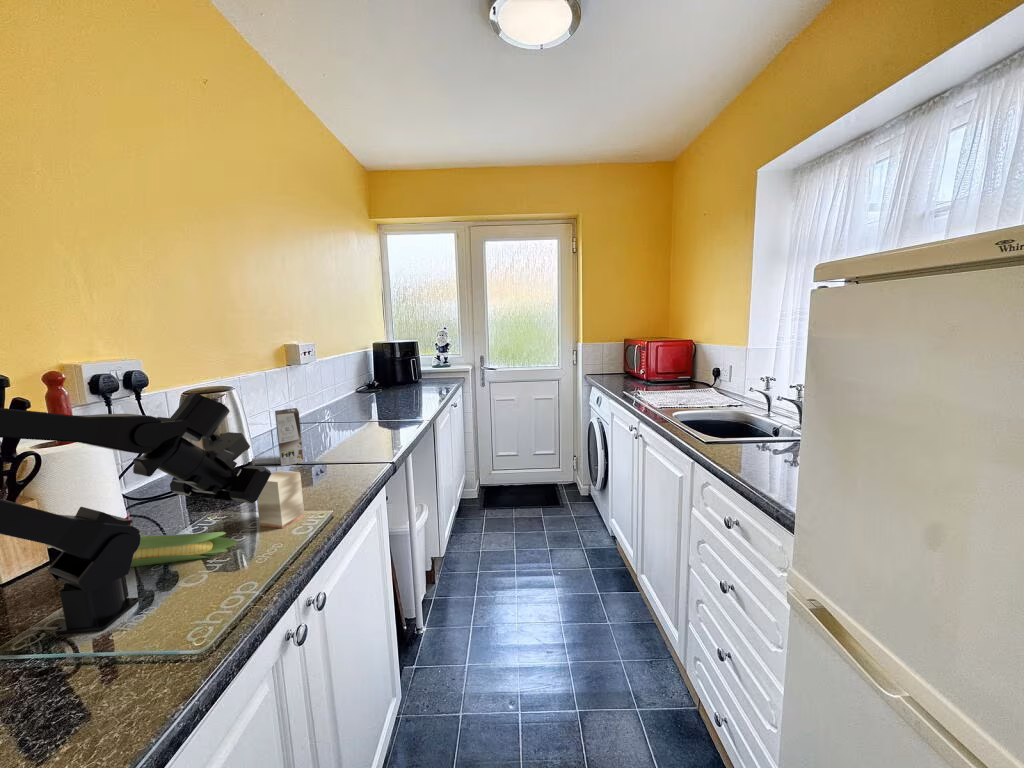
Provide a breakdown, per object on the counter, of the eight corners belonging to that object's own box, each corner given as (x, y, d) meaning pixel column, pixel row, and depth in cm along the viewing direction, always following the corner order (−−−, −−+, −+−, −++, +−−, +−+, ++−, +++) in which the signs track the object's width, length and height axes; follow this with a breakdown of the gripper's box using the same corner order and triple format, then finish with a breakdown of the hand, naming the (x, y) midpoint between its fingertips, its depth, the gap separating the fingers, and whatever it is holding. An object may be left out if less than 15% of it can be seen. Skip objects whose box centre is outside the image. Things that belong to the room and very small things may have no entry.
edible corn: (120, 536, 77) (100, 541, 72) (240, 527, 80) (228, 531, 76) (117, 565, 76) (97, 572, 71) (238, 555, 79) (227, 561, 75)
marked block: (282, 528, 87) (277, 482, 85) (259, 525, 88) (254, 479, 87) (304, 515, 92) (300, 472, 91) (282, 513, 94) (278, 470, 93)
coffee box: (304, 462, 130) (299, 411, 128) (280, 466, 127) (275, 414, 125) (302, 455, 138) (297, 407, 136) (279, 459, 135) (274, 409, 133)
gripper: (256, 424, 73) (309, 464, 85) (178, 420, 78) (238, 459, 90) (218, 483, 67) (282, 518, 79) (136, 475, 72) (207, 509, 84)
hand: (252, 498), depth 83 cm, fingers closed
